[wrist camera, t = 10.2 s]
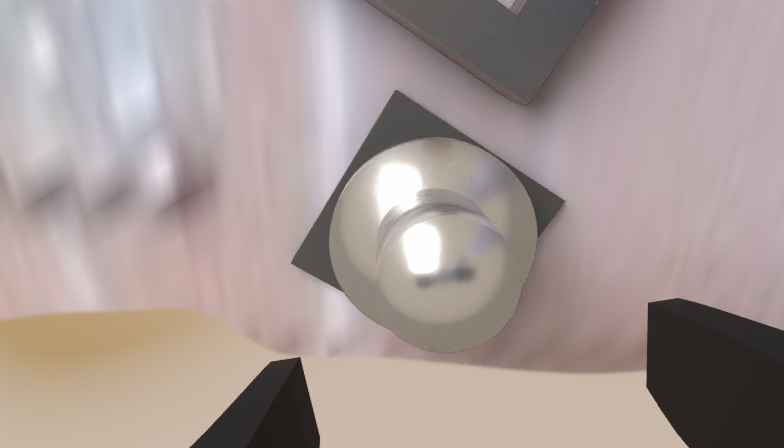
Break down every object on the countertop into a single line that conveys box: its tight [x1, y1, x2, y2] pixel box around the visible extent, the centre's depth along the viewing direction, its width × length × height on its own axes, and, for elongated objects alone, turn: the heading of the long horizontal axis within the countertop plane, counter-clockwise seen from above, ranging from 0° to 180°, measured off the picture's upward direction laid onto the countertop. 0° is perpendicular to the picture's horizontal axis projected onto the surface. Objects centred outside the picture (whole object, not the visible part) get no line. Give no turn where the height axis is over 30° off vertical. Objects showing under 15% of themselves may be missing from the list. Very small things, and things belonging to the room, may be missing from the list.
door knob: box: [329, 137, 537, 353], centre depth 15 cm, size 7×7×6 cm
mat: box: [291, 90, 565, 292], centre depth 19 cm, size 8×8×1 cm
